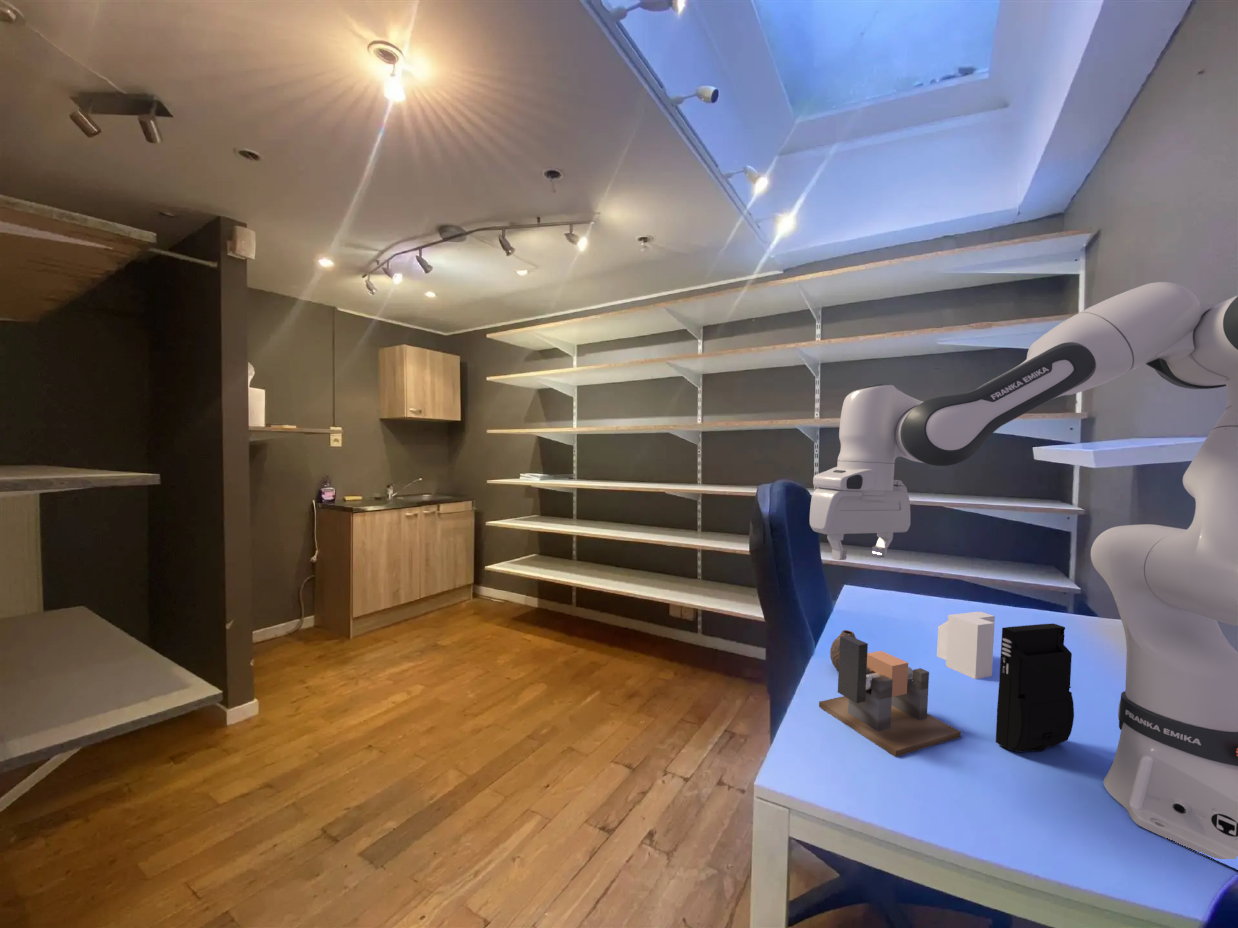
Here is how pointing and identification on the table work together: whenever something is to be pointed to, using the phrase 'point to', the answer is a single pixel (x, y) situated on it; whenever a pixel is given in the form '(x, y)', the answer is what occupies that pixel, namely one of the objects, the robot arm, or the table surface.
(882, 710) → the shaft stand
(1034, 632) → the handheld gaming console
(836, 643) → the vase
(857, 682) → the shaft
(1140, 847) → the table surface
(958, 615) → the corner bracket
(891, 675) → the block
